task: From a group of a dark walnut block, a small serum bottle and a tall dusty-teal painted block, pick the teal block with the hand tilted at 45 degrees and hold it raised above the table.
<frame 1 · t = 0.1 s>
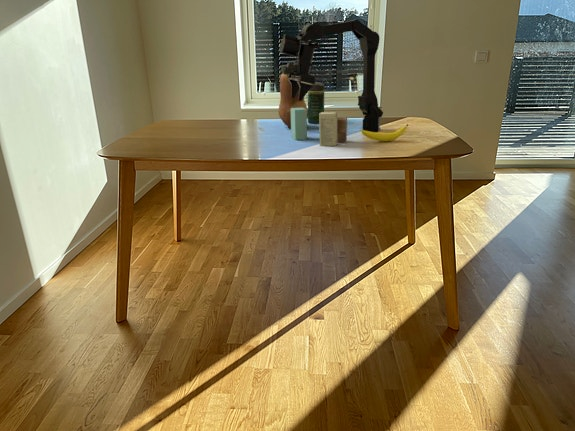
hand: (296, 99, 169), 15 cm above the table, tool pointing down, fingers open, 9 cm apart
banana: (383, 142, 164), on the table
teal block: (299, 138, 174), on the table
walnut block: (340, 141, 166), on the table
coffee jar: (316, 122, 205), on the table
skincare box: (328, 145, 162), on the table
butternut squash: (293, 127, 195), on the table
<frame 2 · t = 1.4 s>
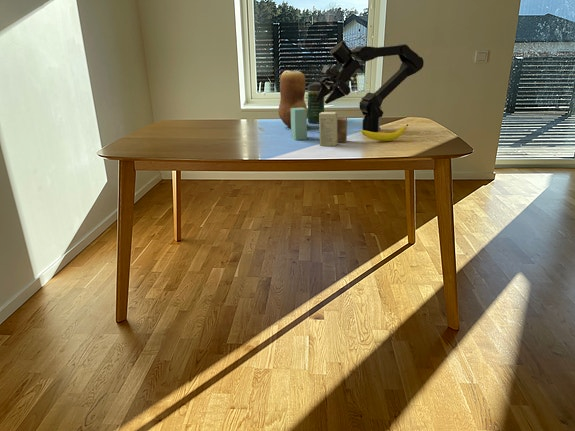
hand: (320, 101, 171), 14 cm above the table, tool tilted 45°, fingers open, 9 cm apart
nothing on the table moved.
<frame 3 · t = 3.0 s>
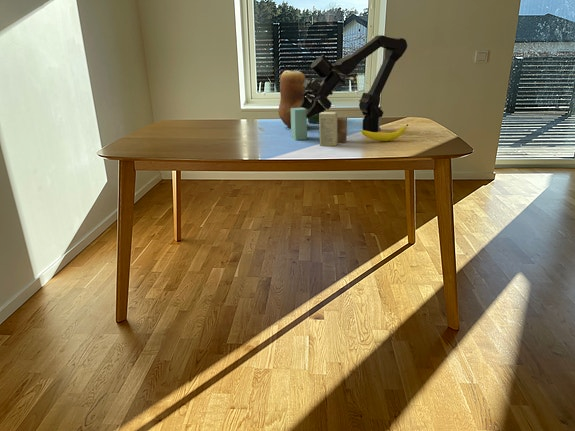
hand: (302, 115, 171), 9 cm above the table, tool tilted 45°, fingers open, 9 cm apart
nothing on the table moved.
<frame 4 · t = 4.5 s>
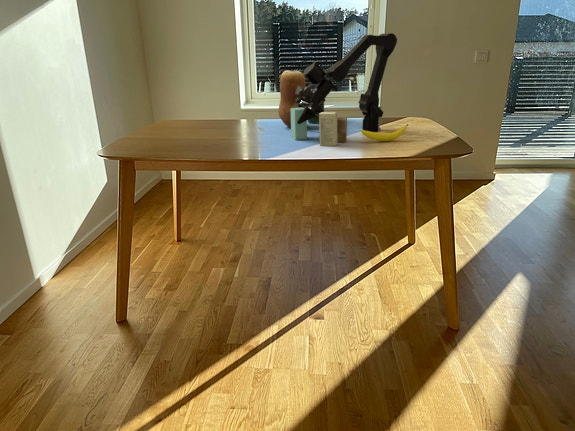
hand: (295, 122, 171), 7 cm above the table, tool tilted 45°, fingers closed on teal block, 5 cm apart
teal block: (299, 138, 174), on the table, touching gripper
everything else where it was.
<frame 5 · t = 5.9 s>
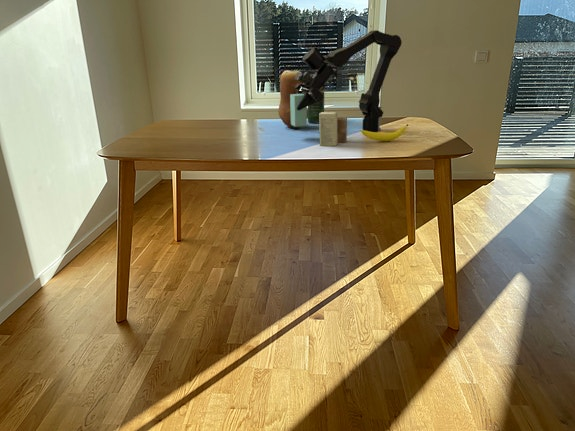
hand: (295, 108, 168), 12 cm above the table, tool tilted 45°, fingers closed on teal block, 5 cm apart
teal block: (298, 125, 171), point 5 cm above the table, touching gripper
everything else where it was.
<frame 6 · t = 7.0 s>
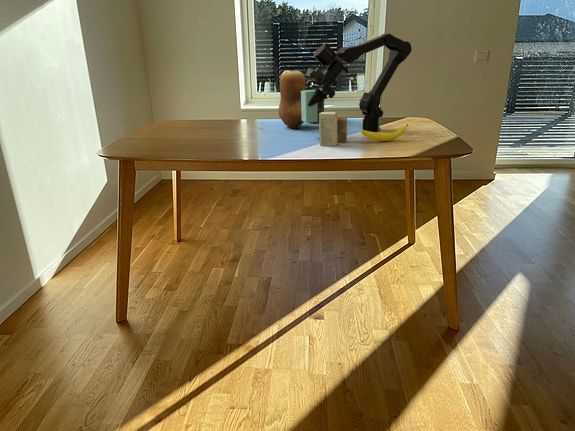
hand: (306, 105, 169), 13 cm above the table, tool tilted 45°, fingers closed on teal block, 5 cm apart
teal block: (309, 121, 172), point 7 cm above the table, touching gripper
everything else where it was.
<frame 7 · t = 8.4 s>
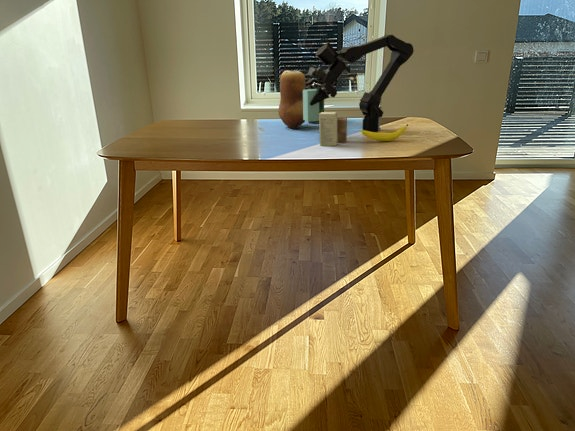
hand: (307, 104, 170), 13 cm above the table, tool tilted 45°, fingers closed on teal block, 5 cm apart
teal block: (311, 120, 173), point 7 cm above the table, touching gripper
everything else where it was.
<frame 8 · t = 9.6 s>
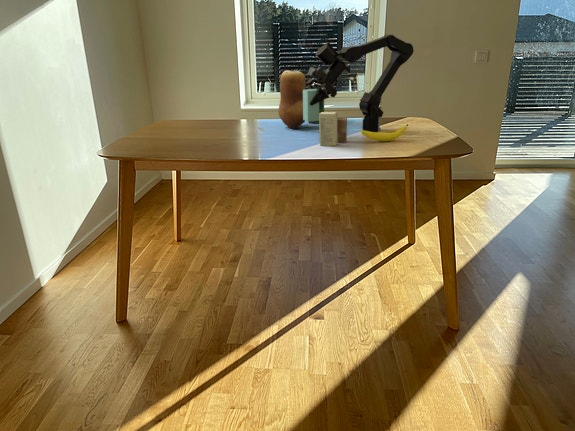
hand: (307, 104, 170), 13 cm above the table, tool tilted 45°, fingers closed on teal block, 5 cm apart
teal block: (311, 120, 173), point 7 cm above the table, touching gripper
everything else where it was.
at the end: the gripper is holding teal block; teal block point 6.9 cm above the table; walnut block moved 0.0 cm from its start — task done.
